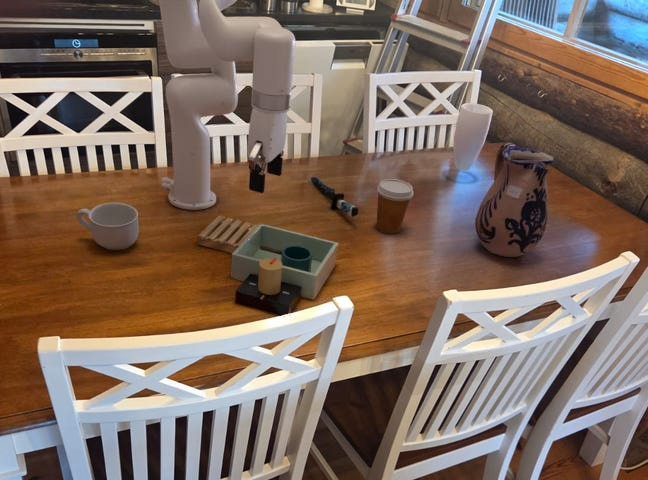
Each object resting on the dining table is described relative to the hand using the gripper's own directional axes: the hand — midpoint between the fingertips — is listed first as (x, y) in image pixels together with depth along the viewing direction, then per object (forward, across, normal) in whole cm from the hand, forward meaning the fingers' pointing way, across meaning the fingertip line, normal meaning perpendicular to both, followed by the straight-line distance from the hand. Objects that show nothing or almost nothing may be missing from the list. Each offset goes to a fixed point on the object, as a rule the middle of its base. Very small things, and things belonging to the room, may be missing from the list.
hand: (265, 182), depth 133 cm
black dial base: (+20, +12, +7) cm, 25 cm away
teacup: (+22, +6, -35) cm, 42 cm away
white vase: (+22, -83, +35) cm, 93 cm away
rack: (+21, -8, -11) cm, 25 cm away
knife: (+22, -42, +4) cm, 47 cm away
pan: (+20, -1, +6) cm, 21 cm away
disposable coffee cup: (+21, -35, +22) cm, 47 cm away
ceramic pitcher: (+21, -40, +52) cm, 69 cm away
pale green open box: (+21, -1, +6) cm, 22 cm away
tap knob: (+17, +12, +7) cm, 22 cm away
